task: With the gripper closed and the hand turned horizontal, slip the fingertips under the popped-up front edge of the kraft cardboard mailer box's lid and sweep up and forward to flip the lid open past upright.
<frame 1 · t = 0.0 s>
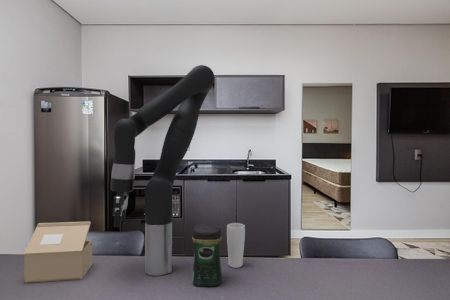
hand: (119, 223, 98), 17 cm above the table, tool pointing down, fingers open, 8 cm apart
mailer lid: (59, 236, 96), point 13 cm above the table, hinge at 35.0°
mailer box: (60, 273, 98), on the table
drinking glass: (235, 265, 106), on the table
coffee jar: (206, 282, 93), on the table
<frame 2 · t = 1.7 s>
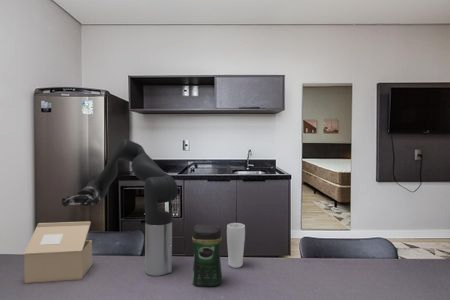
hand: (76, 203, 114), 21 cm above the table, tool horizontal, fingers open, 8 cm apart
nothing on the table moved.
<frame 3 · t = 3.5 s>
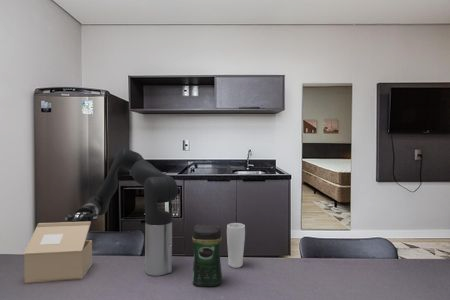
hand: (74, 223, 110), 14 cm above the table, tool horizontal, fingers closed
nothing on the table moved.
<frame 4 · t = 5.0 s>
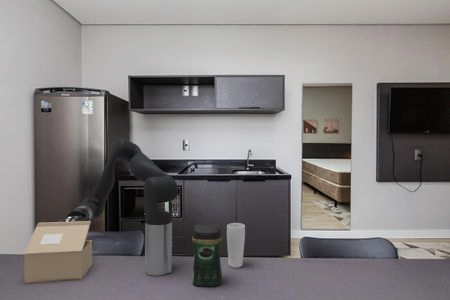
hand: (63, 228, 100), 15 cm above the table, tool horizontal, fingers closed
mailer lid: (59, 236, 96), point 13 cm above the table, hinge at 36.1°, touching gripper
everything else where it was.
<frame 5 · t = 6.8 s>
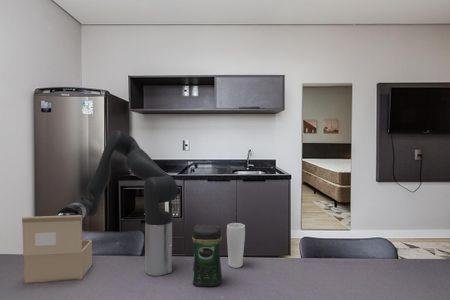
hand: (53, 225, 91), 18 cm above the table, tool horizontal, fingers closed
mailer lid: (52, 235, 91), point 15 cm above the table, hinge at 93.0°, touching gripper
everything else where it was.
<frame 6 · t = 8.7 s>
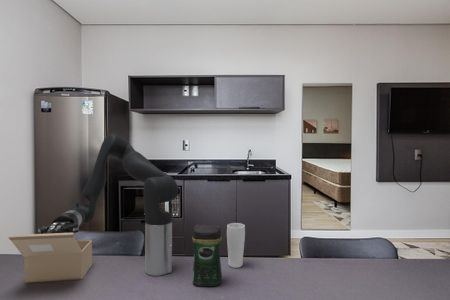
hand: (47, 237, 87), 16 cm above the table, tool horizontal, fingers closed
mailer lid: (47, 245, 87), point 13 cm above the table, hinge at 133.5°
everything else where it was.
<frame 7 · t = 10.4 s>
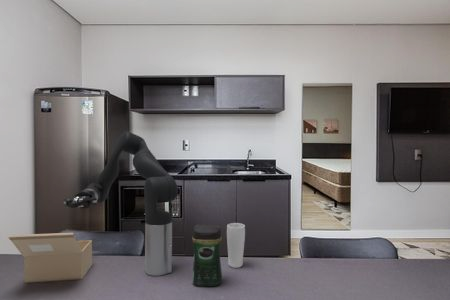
hand: (73, 205, 106), 22 cm above the table, tool horizontal, fingers closed
nothing on the table moved.
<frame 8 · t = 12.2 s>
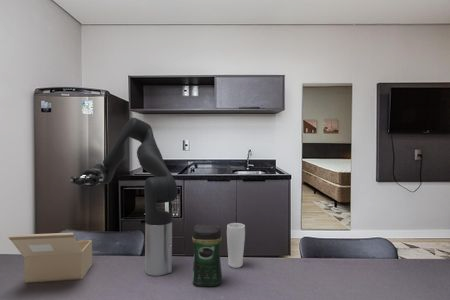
hand: (80, 182, 108), 30 cm above the table, tool horizontal, fingers closed
nothing on the table moved.
at the end: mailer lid at +134° (first picture: +35°) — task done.
